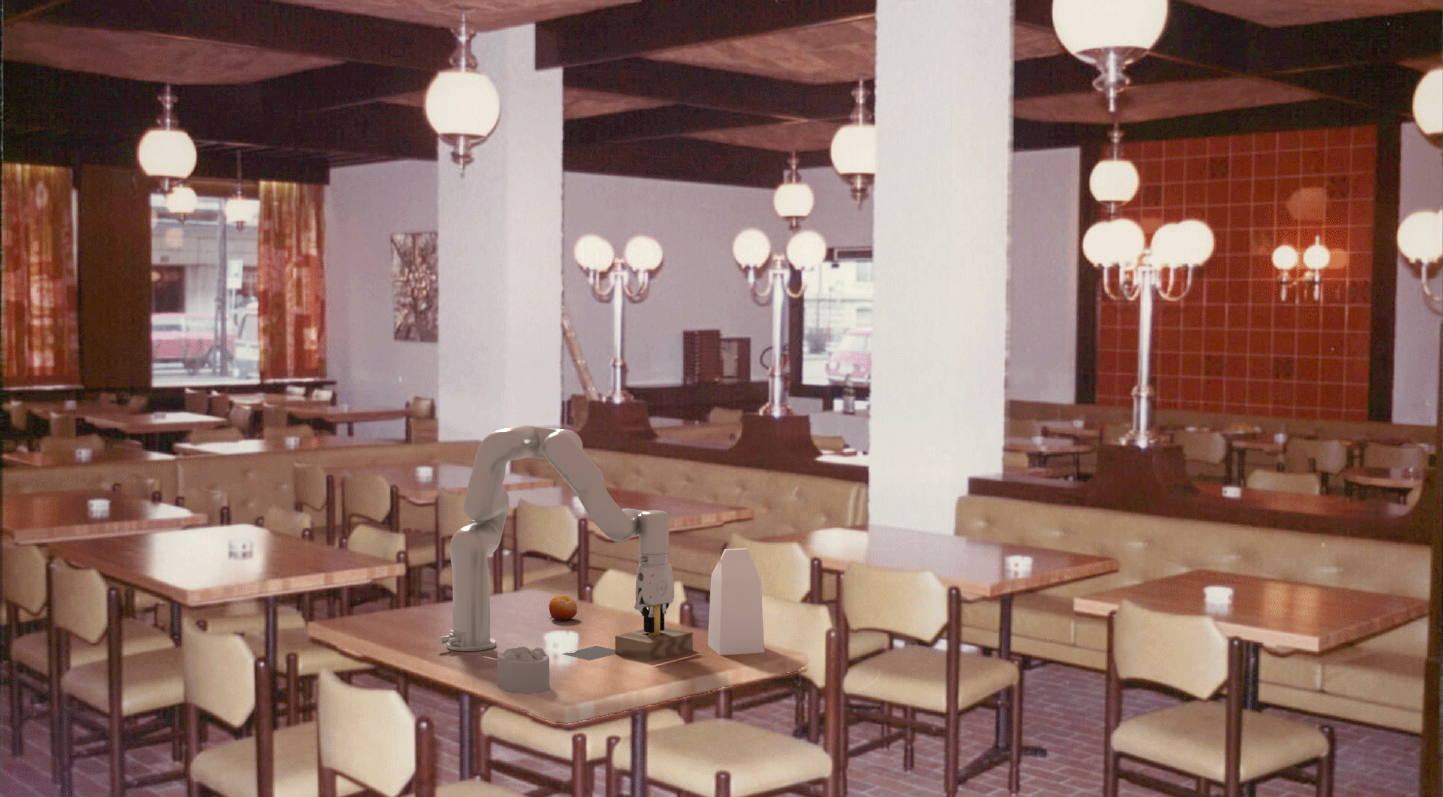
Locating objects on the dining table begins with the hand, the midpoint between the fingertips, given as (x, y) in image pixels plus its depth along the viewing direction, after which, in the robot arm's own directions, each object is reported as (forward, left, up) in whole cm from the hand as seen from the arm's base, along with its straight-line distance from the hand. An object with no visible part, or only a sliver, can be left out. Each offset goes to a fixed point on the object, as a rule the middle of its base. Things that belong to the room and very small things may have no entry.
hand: (654, 630), depth 333 cm
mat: (-11, +11, -6) cm, 17 cm away
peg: (0, 0, -2) cm, 2 cm away
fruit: (+12, +48, -6) cm, 50 cm away
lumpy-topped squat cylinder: (-43, -1, -6) cm, 43 cm away
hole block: (0, 0, -6) cm, 6 cm away
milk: (+18, -12, -6) cm, 23 cm away
